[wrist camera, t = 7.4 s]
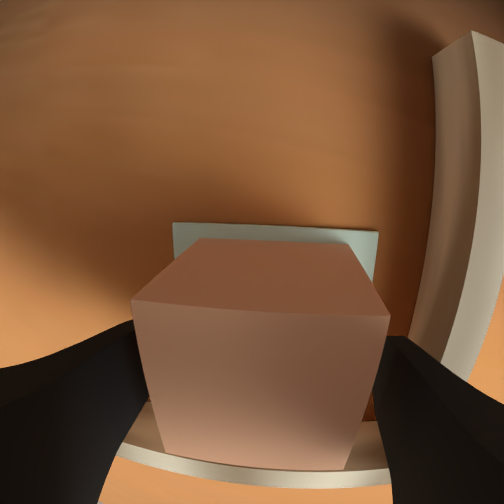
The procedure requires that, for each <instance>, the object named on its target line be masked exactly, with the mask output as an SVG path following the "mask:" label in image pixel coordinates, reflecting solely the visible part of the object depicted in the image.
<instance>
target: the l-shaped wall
mask: <svg viewBox="0 0 504 504" xmlns="http://www.w3.org/2000/svg"><path fill="white" fill-rule="evenodd" d="M432 64H433V75H434V89H435V114H436V147H435V173H434V188H433V200H432V210H431V219H430V227H429V235H428V242H427V248H426V255H425V261H424V266H423V272H422V277H421V282H420V287H419V292H418V297H417V301H416V306H415V310H414V314H413V318H412V322H411V326H410V330H409V334H408V339H410V340H411V341H413V342H414V343H415V344H417V345H418V346H419V347H421V348H422V349H423V350H424V351H426V352H427V353H428V354H430V355H431V356H432V357H433V358H435V359H436V360H437V361H438V362H440V363H441V364H442V365H444V366H445V367H446V368H448V369H449V370H450V371H452V372H453V373H454V374H456V375H457V376H458V377H460V378H461V379H463V380H464V381H466V382H467V380H468V378H469V376H470V374H471V371H472V369H473V367H474V364H475V362H476V359H477V357H478V354H479V352H480V349H481V347H482V344H483V341H484V338H485V336H486V333H487V330H488V327H489V324H490V321H491V318H492V315H493V311H494V308H495V305H496V301H497V298H498V294H499V290H500V287H501V283H502V279H503V274H504V44H503V43H501V42H499V41H496V40H494V39H492V38H489V37H487V36H485V35H482V34H480V33H477V32H474V31H472V30H471V31H469V32H468V33H466V34H465V35H463V36H462V37H460V38H459V39H457V40H456V41H454V42H453V43H451V44H450V45H448V46H447V47H445V48H444V49H442V50H441V51H440V52H438V53H437V54H435V55H434V56H432ZM116 456H119V457H122V458H125V459H128V460H131V461H135V462H138V463H141V464H145V465H148V466H152V467H156V468H159V469H163V470H167V471H171V472H176V473H180V474H185V475H189V476H194V477H199V478H205V479H210V480H216V481H223V482H230V483H237V484H245V485H255V486H266V487H280V488H313V489H318V488H350V487H364V486H375V485H384V484H391V478H390V472H389V467H388V463H387V459H386V455H385V451H384V447H383V443H382V439H381V435H380V431H379V427H378V423H377V421H364V422H361V425H360V428H359V430H358V433H357V436H356V439H355V441H354V444H353V446H352V449H351V452H350V454H349V457H348V459H347V462H346V464H345V466H344V469H343V470H287V469H271V468H258V467H248V466H239V465H231V464H224V463H217V462H211V461H205V460H199V459H194V458H189V457H184V456H179V455H175V454H170V453H166V452H165V449H164V445H163V442H162V439H161V436H160V432H159V429H158V425H157V422H156V418H155V415H154V411H153V407H152V404H151V402H149V401H146V403H145V405H144V406H143V408H142V410H141V412H140V413H139V415H138V417H137V418H136V420H135V422H134V424H133V425H132V427H131V429H130V430H129V432H128V434H127V435H126V437H125V439H124V440H123V442H122V444H121V446H120V447H119V449H118V451H117V453H116Z"/></svg>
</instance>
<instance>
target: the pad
mask: <svg viewBox="0 0 504 504" xmlns="http://www.w3.org/2000/svg"><path fill="white" fill-rule="evenodd" d="M172 228H173V248H174V260H175V259H176V258H177V257H178V256H179V255H180V254H182V253H183V252H184V251H185V250H186V249H187V248H189V247H190V246H191V245H192V244H193V243H194V242H196V241H197V240H198V239H199V238H217V239H243V240H267V241H290V242H312V243H333V244H349V246H350V247H351V249H352V250H353V252H354V254H355V255H356V257H357V259H358V260H359V262H360V263H361V265H362V267H363V268H364V270H365V272H366V273H367V275H368V277H369V278H370V280H371V282H372V281H373V274H374V267H375V260H376V252H377V244H378V235H379V232H378V231H366V230H351V229H334V228H316V227H296V226H275V225H251V224H224V223H192V222H174V223H172Z"/></svg>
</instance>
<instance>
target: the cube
mask: <svg viewBox="0 0 504 504" xmlns="http://www.w3.org/2000/svg"><path fill="white" fill-rule="evenodd" d="M130 303H131V309H132V315H133V321H134V326H135V332H136V337H137V342H138V347H139V352H140V357H141V362H142V366H143V371H144V375H145V380H146V384H147V388H148V392H149V396H150V400H151V404H152V407H153V411H154V415H155V418H156V422H157V425H158V429H159V432H160V436H161V439H162V442H163V445H164V449H165V452H166V453H170V454H175V455H179V456H184V457H189V458H194V459H199V460H205V461H211V462H217V463H224V464H231V465H239V466H248V467H258V468H271V469H287V470H343V469H344V466H345V464H346V462H347V459H348V457H349V454H350V452H351V449H352V446H353V444H354V441H355V439H356V436H357V433H358V430H359V428H360V425H361V422H362V419H363V416H364V413H365V410H366V407H367V404H368V401H369V398H370V394H371V391H372V388H373V384H374V381H375V378H376V374H377V371H378V367H379V363H380V359H381V356H382V352H383V348H384V344H385V340H386V335H387V331H388V327H389V322H390V318H391V315H390V313H389V312H388V310H387V308H386V306H385V304H384V303H383V301H382V299H381V297H380V296H379V294H378V292H377V290H376V289H375V287H374V285H373V284H372V282H371V280H370V278H369V277H368V275H367V273H366V272H365V270H364V268H363V267H362V265H361V263H360V262H359V260H358V259H357V257H356V255H355V254H354V252H353V250H352V249H351V247H350V246H349V244H333V243H312V242H290V241H267V240H243V239H217V238H199V239H198V240H197V241H196V242H194V243H193V244H192V245H191V246H190V247H189V248H187V249H186V250H185V251H184V252H183V253H182V254H180V255H179V256H178V257H177V258H176V259H175V260H174V261H172V262H171V263H170V264H169V265H168V266H167V267H166V268H164V269H163V270H162V271H161V272H160V273H159V274H158V275H157V276H155V277H154V278H153V279H152V280H151V281H150V282H149V283H148V284H146V285H145V286H144V287H143V288H142V289H141V290H140V291H139V292H138V293H136V294H135V295H134V296H133V297H132V298H131V299H130Z"/></svg>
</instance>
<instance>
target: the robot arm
mask: <svg viewBox="0 0 504 504" xmlns="http://www.w3.org/2000/svg"><path fill="white" fill-rule="evenodd" d="M372 392H373V401H374V408H375V415H376V419H377V423H378V427H379V431H380V435H381V439H382V443H383V447H384V451H385V455H386V459H387V463H388V467H389V472H390V478H391V484H392V495H393V504H504V404H502V403H500V402H498V401H496V400H494V399H493V398H491V397H489V396H487V395H486V394H484V393H482V392H481V391H479V390H477V389H476V388H474V387H473V386H471V385H470V384H469V383H467V382H466V381H464V380H463V379H461V378H460V377H458V376H457V375H456V374H454V373H453V372H452V371H450V370H449V369H448V368H446V367H445V366H444V365H442V364H441V363H440V362H438V361H437V360H436V359H435V358H433V357H432V356H431V355H430V354H428V353H427V352H426V351H424V350H423V349H422V348H421V347H419V346H418V345H417V344H415V343H414V342H413V341H411V340H410V339H408V338H407V337H405V336H386V340H385V344H384V348H383V352H382V356H381V359H380V363H379V367H378V371H377V374H376V378H375V381H374V384H373V388H372ZM148 398H149V392H148V388H147V384H146V380H145V375H144V371H143V366H142V362H141V357H140V352H139V347H138V342H137V337H136V332H135V326H134V321H133V319H132V320H129V321H126V322H124V323H121V324H119V325H117V326H115V327H112V328H110V329H108V330H106V331H104V332H102V333H99V334H97V335H95V336H93V337H91V338H89V339H86V340H84V341H82V342H80V343H78V344H75V345H73V346H70V347H68V348H66V349H63V350H61V351H58V352H56V353H54V354H51V355H48V356H45V357H43V358H40V359H36V360H33V361H30V362H26V363H23V364H19V365H15V366H10V367H5V368H0V504H97V502H98V499H99V496H100V493H101V491H102V488H103V485H104V482H105V479H106V477H107V474H108V472H109V469H110V467H111V465H112V462H113V460H114V457H115V455H116V453H117V451H118V449H119V447H120V446H121V444H122V442H123V440H124V439H125V437H126V435H127V434H128V432H129V430H130V429H131V427H132V425H133V424H134V422H135V420H136V418H137V417H138V415H139V413H140V412H141V410H142V408H143V406H144V405H145V403H146V401H147V399H148Z"/></svg>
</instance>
